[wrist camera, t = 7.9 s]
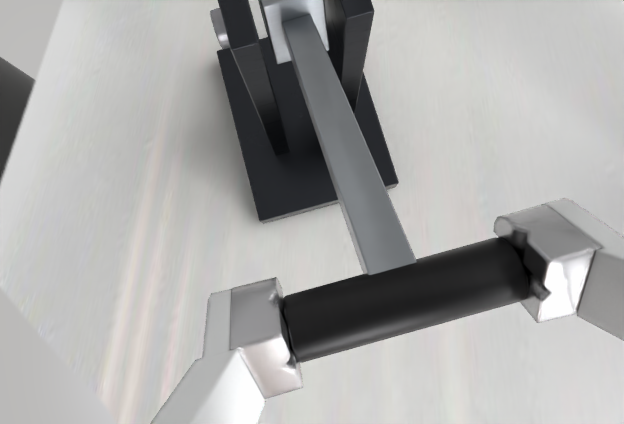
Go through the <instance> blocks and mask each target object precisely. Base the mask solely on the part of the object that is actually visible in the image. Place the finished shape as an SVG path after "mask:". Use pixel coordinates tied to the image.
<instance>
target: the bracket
mask: <svg viewBox="0 0 624 424" xmlns="http://www.w3.org/2000/svg"><path fill="white" fill-rule="evenodd" d="M218 3H219V7H220V8H218V9H214V10H211V11H210V14H211V19H212V23H213V26H214V30H215V33H216V36H217V38H218V41H219V43H220V46H221V47H222V49H223V50H219V51H217V55H218V59H219V63H220V67H221V71H222V75H223V79H224V83H225V87H226V91H227V94H228V98H229V102H230V106H231V110H232V114H233V118H234V122H235V126H236V130H237V134H238V138H239V142H240V146H241V150H242V154H243V158H244V162H245V165H246V169H247V173H248V177H249V181H250V185H251V189H252V193H253V197H254V201H255V205H256V209H257V213H258V217H259V221H260V222H262V223H263V224H264V223H267V222H271V221H275V220H278V219H282V218H285V217H289V216H293V215H296V214H300V213H304V212H307V211H311V210H314V209H318V208H322V207H325V206H329V205H332V204H336V203H339V200H338V197H337V194H336V191H335V188H334V185H333V182H332V179H331V176H330V173H329V170H328V167H327V164H326V161H325V158H324V155H323V152H322V149H321V146H320V143H319V140H318V137H317V134H316V132H315V129H314V126H313V123H312V120H311V117H310V114H309V111H308V108H307V105H306V102H305V99H304V96H303V93H302V90H301V87H300V84H299V81H298V78H297V75H296V72H295V69H294V66H293V63H292V61H288V62H285V63H281V64H277V63H276V61H275V58H274V55H273V51H272V48H271V45H270V41H269V38H268V37H267V38H263V39H259V37H258V33H257V30H256V26H255V22H254V19H253V15H252V12H251V8H250V5H249V1H248V0H218ZM324 3H325V12H326V21H327V31H328V40H329V50H328V51H327V53H328V55H329V58H330V60H331V62H332V65H333V67H334V69H335V72H336V74H337V76H338V79H339V81H340V83H341V86H342V88H343V90H344V93H345V95H346V97H347V100H348V102H349V104H350V107H351V109H352V111H353V114H354V116H355V118H356V121H357V123H358V125H359V128H360V130H361V132H362V135H363V137H364V139H365V142H366V144H367V146H368V149H369V151H370V153H371V156H372V158H373V160H374V163H375V165H376V167H377V170H378V172H379V174H380V177H381V179H382V181H383V184H384V186H385V188H386V190H387V189H390V188H394V187H396V185H397V184H398V183H399V182H398V179H397V176H396V172H395V169H394V166H393V163H392V160H391V157H390V154H389V151H388V148H387V144H386V141H385V138H384V135H383V132H382V129H381V126H380V123H379V120H378V116H377V113H376V110H375V107H374V104H373V101H372V98H371V95H370V92H369V88H368V85H367V82H366V79H365V76H364V73H363V68H364V63H365V57H366V52H367V47H368V42H369V36H370V31H371V26H372V21H373V15H374V8H373V5H372V2H371V0H324Z"/></svg>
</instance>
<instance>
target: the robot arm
mask: <svg viewBox="0 0 624 424" xmlns="http://www.w3.org/2000/svg"><path fill="white" fill-rule="evenodd" d="M494 232H495V233H496V235H497V236H498V237H499V238H501V239H504V240H505V241H507V242H508V243H509V244H510V245H511V246H512V247H513V248H514V249H515V250H516V252H517V253H518V255H519V257H520V259H521V261H522V263H523V265H524V267H525V270H526V274H527V278H528V292H527V295H526V297H525V298H524V299H523V300H522V301H519V302H520V303H521V304H522V305H523V306H524V308H525V309H526V310H527V311H528V312H529V314H530V315H531V316H532V317H533V318H534V320H535V321H536V322H537V323H540V322H544V321H548V320H552V319H556V318H561V317H565V316H569V315H573V314H577V316H578V317H580V318H582V319H584V320H586V321H588V322H590V323H592V324H593V325H595V326H597V327H599V328H601V329H603V330H605V331H607V332H608V333H610V334H612V335H614V336H616V337H618V338H620V339H622V340H623V341H624V237H623V236H621V235H620V234H618V233H617V232H616V231H614V230H613V229H611V228H610V227H609V226H607V225H606V224H604V223H603V222H602V221H600V220H599V219H598V218H596V217H595V216H593V215H592V214H591V213H589V212H588V211H586V210H585V209H584V208H582V207H581V206H579V205H578V204H577V203H575V202H574V201H572V200H570V199H566V198H562V199H559V200H555V201H552V202H548V203H545V204H542V205H539V206H535V207H531V208H528V209H524V210H521V211H517V212H514V213H510V214H506V215H503V216H499V217H497V219H496V221H495V222H494ZM283 309H284V306H283V293H282V288H281V285H280V283H279V280H278V279H277V278H276V277H275V278H271V279H267V280H263V281H259V282H255V283H251V284H247V285H243V286H239V287H235V288H233V289H229V290H225V291H221V292H216V293H212V294H211V295H210V297H209V299H208V304H207V315H206V325H205V335H204V345H203V355H202V358H201V359H197V360H195V361H194V363H193V364H192V365H191V367H190V368H189V370H188V371H187V372H186V374H185V375H184V377H183V378H182V379H181V381H180V382H179V384H178V385H177V387H176V388H175V389H174V391H173V392H172V394H171V395H170V396H169V398H168V399H167V401H166V402H165V403H164V405H163V406H162V408H161V409H160V411H159V412H158V413H157V415H156V416H155V418H154V419H153V420H152V422H151V423H150V424H257V421H258V419H259V417H260V414H261V412H262V409H263V407H264V404H265V402H266V401H265V399H267V398H270V397H273V396H277V395H280V394H283V393H287V392H290V391H293V390H296V389H300V388H303V381H302V374H301V367H300V362H298V360H297V358H296V356H295V354H294V351H293V349H292V347H291V344H290V340H289V337H288V331H287V327H286V324H285V319H284V313H283Z"/></svg>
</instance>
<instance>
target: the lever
mask: <svg viewBox="0 0 624 424" xmlns="http://www.w3.org/2000/svg"><path fill="white" fill-rule="evenodd" d="M258 1H259V5H260V9H261V13H262V16H263V20H264V24H265V28H266V31H267V35H268V38H269V41H270V45H271V48H272V51H273V55H274V58H275V61H276V63H277V64H281V63H285V62H288V61H292V63H293V66H294V69H295V72H296V75H297V78H298V81H299V84H300V87H301V90H302V93H303V96H304V99H305V102H306V105H307V108H308V111H309V114H310V117H311V120H312V123H313V126H314V129H315V132H316V134H317V137H318V140H319V143H320V146H321V149H322V152H323V155H324V158H325V161H326V164H327V167H328V170H329V173H330V176H331V179H332V182H333V185H334V188H335V191H336V194H337V197H338V200H339V203H340V206H341V209H342V212H343V215H344V218H345V221H346V224H347V227H348V230H349V233H350V236H351V238H352V241H353V244H354V247H355V250H356V253H357V256H358V259H359V262H360V265H361V268H362V271H363V274H362V275H359V276H355V277H352V278H348V279H345V280H341V281H337V282H334V283H330V284H327V285H323V286H319V287H316V288H312V289H309V290H305V291H301V292H298V293H294V294H291V295H287V296H285V297H284V298H283V306H284V309H283V313H284V319H285V324H286V327H287V331H288V337H289V340H290V344H291V347H292V349H293V351H294V354H295V356H296V358H297V360H298V362H306V361H309V360H313V359H316V358H320V357H323V356H327V355H331V354H334V353H338V352H341V351H345V350H348V349H352V348H356V347H359V346H363V345H366V344H370V343H373V342H377V341H380V340H384V339H388V338H391V337H395V336H398V335H402V334H405V333H409V332H413V331H416V330H420V329H423V328H427V327H430V326H434V325H438V324H441V323H445V322H448V321H452V320H455V319H459V318H462V317H466V316H470V315H473V314H477V313H480V312H484V311H487V310H491V309H495V308H498V307H502V306H505V305H509V304H512V303H516V302H519V301H522V300H523V299H524V298H525V297H526V295H527V292H528V278H527V274H526V270H525V267H524V265H523V263H522V261H521V259H520V257H519V255H518V253H517V252H516V250H515V249H514V248H513V247H512V246H511V245H510V244H509V243H508V242H507V241H505V240H504V239H501V238H492V239H488V240H485V241H481V242H477V243H474V244H470V245H467V246H463V247H459V248H456V249H452V250H449V251H445V252H441V253H438V254H434V255H431V256H427V257H424V258H420V259H416V258H415V256H414V254H413V251H412V249H411V247H410V244H409V242H408V240H407V237H406V235H405V233H404V230H403V228H402V226H401V223H400V221H399V219H398V216H397V214H396V212H395V209H394V207H393V205H392V202H391V200H390V198H389V195H388V193H387V191H386V188H385V186H384V184H383V181H382V179H381V177H380V174H379V172H378V170H377V167H376V165H375V163H374V160H373V158H372V156H371V153H370V151H369V149H368V146H367V144H366V142H365V139H364V137H363V135H362V132H361V130H360V128H359V125H358V123H357V121H356V118H355V116H354V114H353V111H352V109H351V107H350V104H349V102H348V100H347V97H346V95H345V93H344V90H343V88H342V86H341V83H340V81H339V79H338V76H337V74H336V72H335V69H334V67H333V65H332V62H331V60H330V58H329V55H328V53H327V51H328V50H329V40H328V31H327V21H326V12H325V3H324V0H258Z"/></svg>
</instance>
